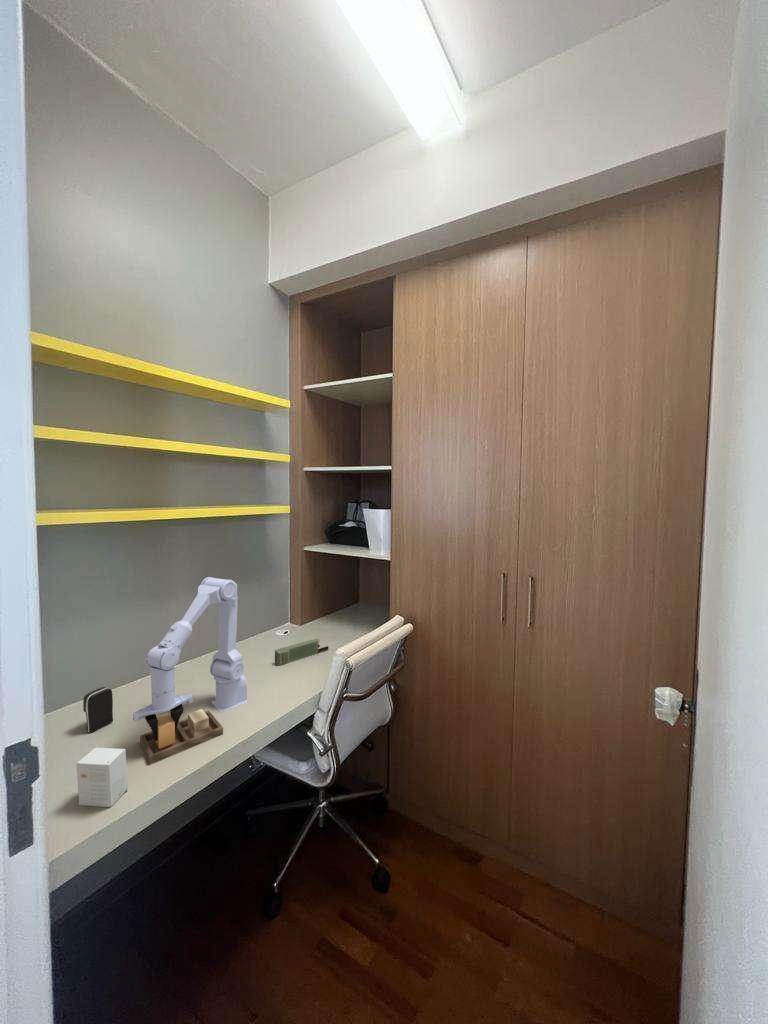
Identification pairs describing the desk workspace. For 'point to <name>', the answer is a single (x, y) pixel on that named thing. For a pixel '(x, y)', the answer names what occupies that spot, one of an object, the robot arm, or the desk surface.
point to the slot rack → (179, 740)
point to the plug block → (165, 730)
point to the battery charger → (98, 708)
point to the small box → (102, 777)
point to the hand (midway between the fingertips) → (164, 735)
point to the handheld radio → (297, 651)
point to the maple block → (198, 723)
